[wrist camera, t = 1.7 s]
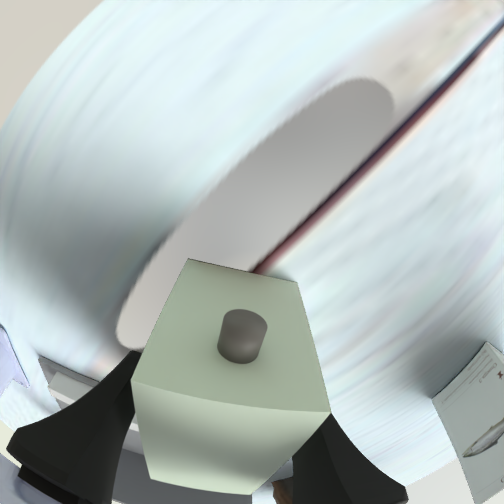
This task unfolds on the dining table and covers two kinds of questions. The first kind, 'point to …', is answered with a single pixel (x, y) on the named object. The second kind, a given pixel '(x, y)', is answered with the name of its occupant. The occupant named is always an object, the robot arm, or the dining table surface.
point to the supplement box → (477, 421)
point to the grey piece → (131, 453)
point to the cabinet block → (227, 381)
